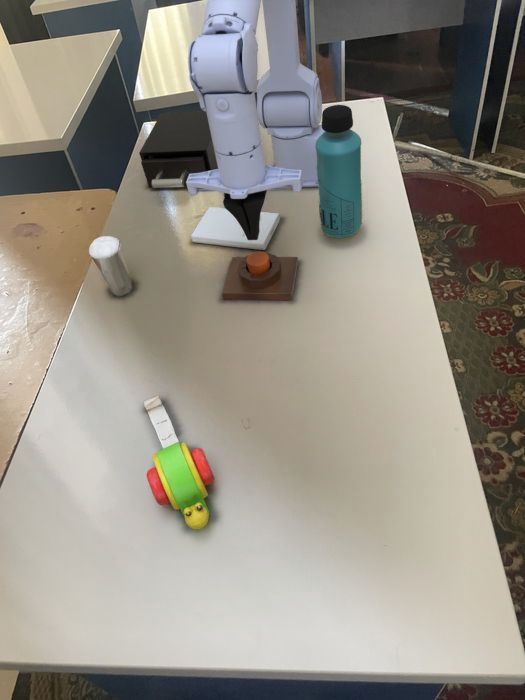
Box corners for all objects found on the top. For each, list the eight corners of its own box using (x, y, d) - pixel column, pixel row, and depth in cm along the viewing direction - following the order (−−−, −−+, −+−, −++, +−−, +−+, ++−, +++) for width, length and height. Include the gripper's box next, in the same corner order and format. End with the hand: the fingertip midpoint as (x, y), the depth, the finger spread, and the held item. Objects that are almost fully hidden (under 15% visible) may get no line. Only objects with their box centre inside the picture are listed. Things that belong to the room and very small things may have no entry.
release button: (271, 260, 82) (270, 251, 81) (268, 275, 80) (267, 265, 79) (250, 260, 83) (248, 251, 82) (246, 275, 81) (244, 265, 80)
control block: (298, 263, 85) (296, 247, 83) (291, 300, 80) (289, 284, 78) (233, 263, 87) (230, 248, 85) (223, 299, 82) (219, 284, 80)
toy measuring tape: (176, 551, 58) (159, 523, 53) (130, 413, 71) (112, 380, 66) (233, 523, 59) (222, 494, 54) (178, 393, 72) (164, 359, 67)
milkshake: (135, 300, 84) (114, 247, 77) (103, 298, 86) (78, 246, 78) (146, 280, 87) (125, 226, 80) (114, 278, 89) (91, 226, 81)
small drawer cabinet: (214, 184, 103) (206, 149, 98) (149, 186, 105) (138, 152, 100) (229, 143, 112) (222, 109, 107) (169, 146, 114) (160, 113, 109)
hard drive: (211, 213, 97) (280, 220, 93) (192, 243, 92) (264, 251, 88) (209, 205, 96) (279, 211, 92) (190, 235, 91) (263, 243, 87)
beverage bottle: (368, 224, 89) (369, 99, 74) (354, 250, 86) (352, 124, 71) (329, 218, 92) (322, 95, 77) (314, 243, 88) (304, 119, 73)
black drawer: (202, 200, 98) (195, 174, 94) (141, 202, 100) (133, 176, 97) (222, 147, 110) (217, 121, 106) (168, 149, 112) (161, 124, 108)
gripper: (170, 163, 66) (196, 254, 76) (293, 158, 63) (303, 254, 73) (185, 133, 71) (207, 222, 81) (300, 127, 68) (308, 221, 78)
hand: (253, 235), depth 78 cm, fingers closed
